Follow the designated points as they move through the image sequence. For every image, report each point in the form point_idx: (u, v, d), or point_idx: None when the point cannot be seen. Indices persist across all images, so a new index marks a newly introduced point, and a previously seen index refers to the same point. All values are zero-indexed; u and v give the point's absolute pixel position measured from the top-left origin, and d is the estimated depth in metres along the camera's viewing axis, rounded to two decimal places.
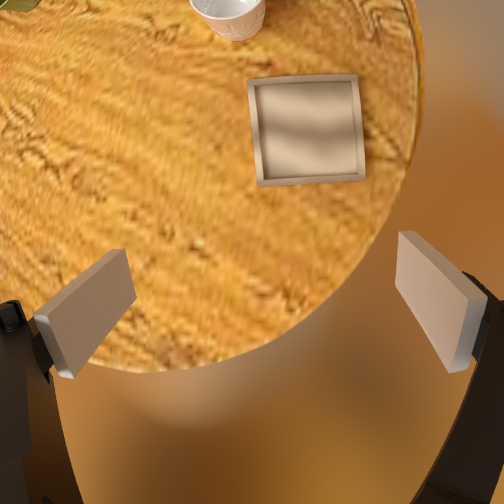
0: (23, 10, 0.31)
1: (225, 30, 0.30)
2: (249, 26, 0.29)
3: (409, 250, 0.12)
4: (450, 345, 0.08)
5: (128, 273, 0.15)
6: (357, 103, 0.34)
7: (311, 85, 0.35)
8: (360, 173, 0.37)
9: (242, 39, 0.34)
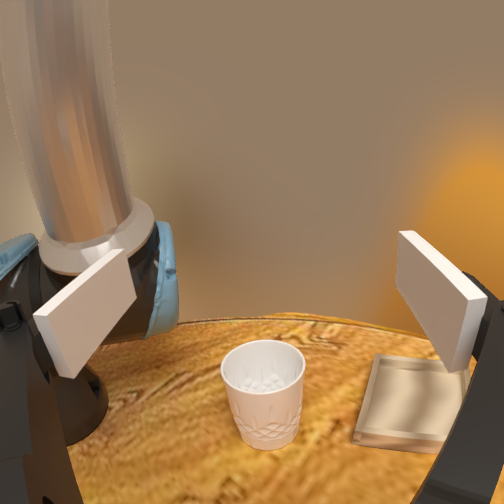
0: None
1: (296, 410, 0.28)
2: None
3: (409, 250, 0.12)
4: (450, 345, 0.08)
5: (128, 273, 0.15)
6: (402, 358, 0.37)
7: (375, 391, 0.34)
8: None
9: (298, 429, 0.31)
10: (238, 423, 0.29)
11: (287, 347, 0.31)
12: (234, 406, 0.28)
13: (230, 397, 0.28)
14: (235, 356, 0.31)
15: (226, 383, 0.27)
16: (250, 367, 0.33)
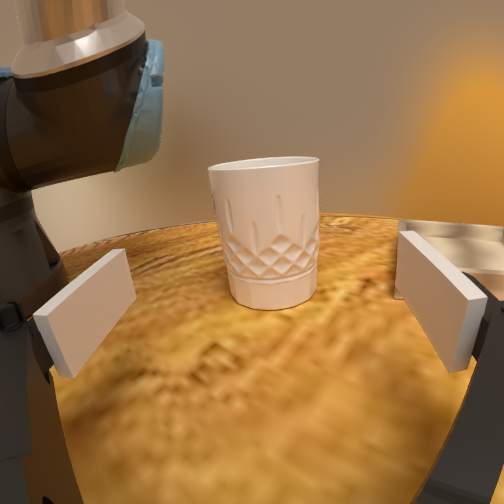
0: None
1: (312, 224, 0.21)
2: None
3: (409, 250, 0.12)
4: (450, 345, 0.08)
5: (128, 273, 0.15)
6: (431, 222, 0.30)
7: None
8: (502, 228, 0.27)
9: (316, 282, 0.24)
10: (230, 257, 0.22)
11: (294, 160, 0.25)
12: (225, 215, 0.21)
13: (219, 200, 0.21)
14: None
15: (214, 172, 0.20)
16: None
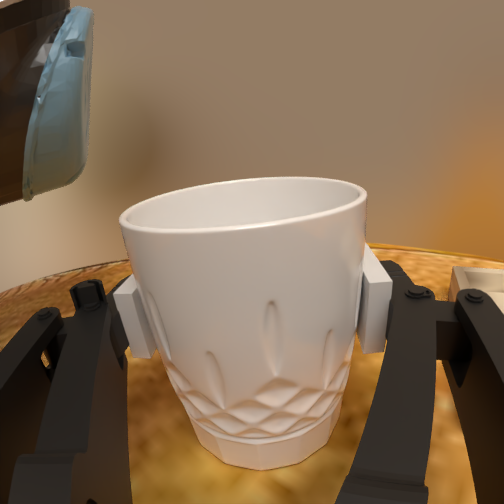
0: None
1: (347, 340, 0.09)
2: None
3: None
4: (363, 327, 0.10)
5: None
6: (497, 271, 0.18)
7: None
8: None
9: (339, 411, 0.12)
10: (178, 391, 0.10)
11: (306, 184, 0.13)
12: (154, 324, 0.09)
13: (140, 290, 0.09)
14: (177, 210, 0.13)
15: (123, 229, 0.08)
16: None
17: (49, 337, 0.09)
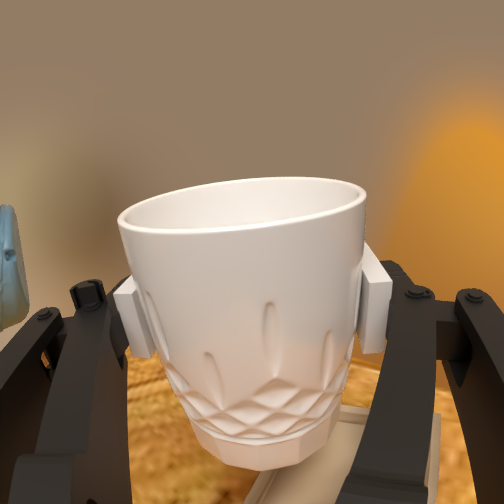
0: None
1: (346, 341, 0.09)
2: None
3: None
4: (363, 327, 0.10)
5: None
6: None
7: None
8: None
9: (338, 412, 0.12)
10: (176, 392, 0.10)
11: (305, 185, 0.13)
12: (152, 325, 0.09)
13: (138, 291, 0.09)
14: (176, 210, 0.13)
15: (121, 230, 0.08)
16: None
17: (49, 337, 0.09)
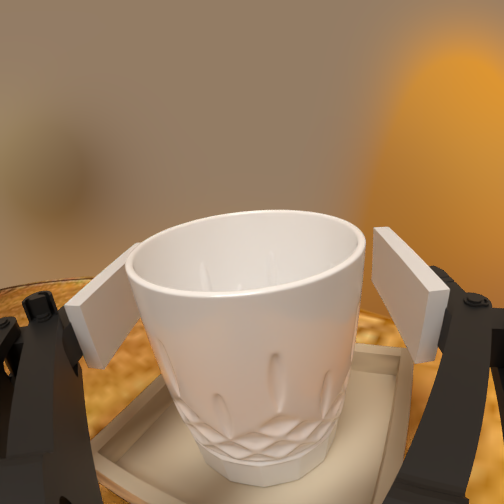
0: None
1: (343, 375, 0.10)
2: None
3: (382, 245, 0.13)
4: (415, 336, 0.09)
5: None
6: None
7: None
8: (398, 354, 0.16)
9: (335, 431, 0.13)
10: (185, 420, 0.11)
11: (304, 219, 0.13)
12: (163, 365, 0.09)
13: (149, 335, 0.09)
14: (179, 245, 0.13)
15: (131, 281, 0.09)
16: (218, 284, 0.15)
17: (9, 344, 0.08)
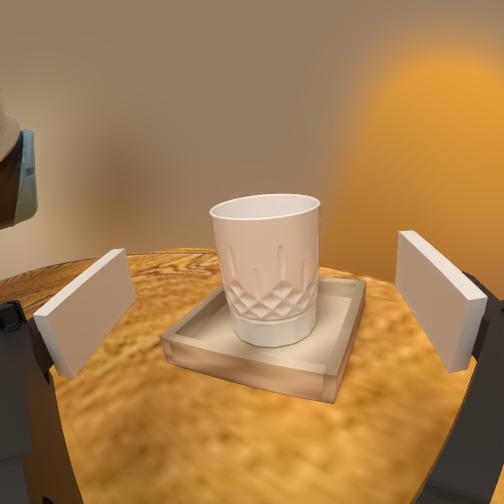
0: None
1: (313, 268, 0.22)
2: None
3: (409, 250, 0.12)
4: (450, 345, 0.08)
5: (128, 273, 0.15)
6: None
7: (224, 308, 0.30)
8: (355, 283, 0.29)
9: (315, 318, 0.25)
10: (233, 299, 0.23)
11: (294, 198, 0.26)
12: (228, 261, 0.22)
13: (222, 246, 0.22)
14: (228, 211, 0.26)
15: (217, 219, 0.21)
16: None
17: None
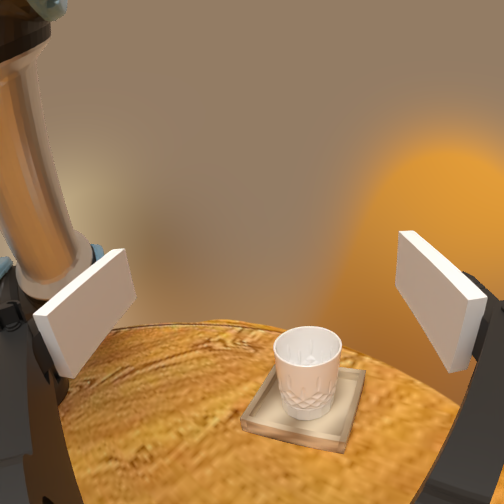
0: None
1: (334, 381, 0.35)
2: None
3: (409, 250, 0.12)
4: (450, 345, 0.08)
5: (128, 273, 0.15)
6: None
7: (272, 389, 0.43)
8: (358, 372, 0.41)
9: None
10: (287, 397, 0.36)
11: (323, 331, 0.39)
12: (286, 381, 0.35)
13: (283, 373, 0.34)
14: (282, 341, 0.38)
15: (281, 361, 0.34)
16: (292, 350, 0.40)
17: None
